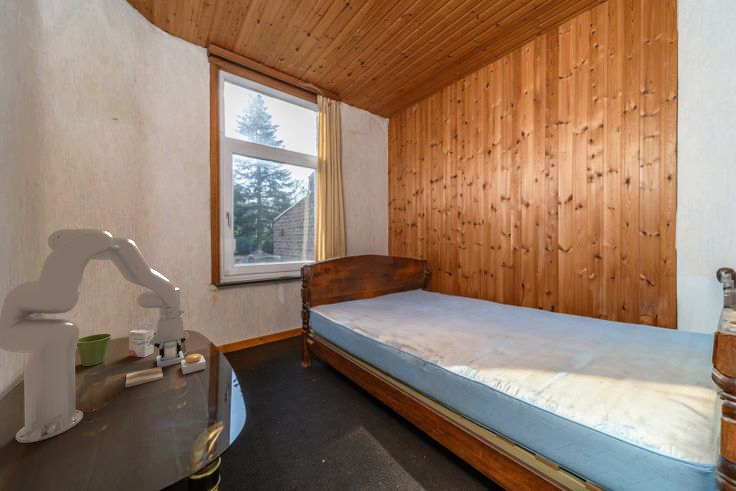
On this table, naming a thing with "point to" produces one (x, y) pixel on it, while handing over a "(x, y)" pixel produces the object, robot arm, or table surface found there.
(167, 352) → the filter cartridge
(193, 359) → the orange mushroom button
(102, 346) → the plant pot
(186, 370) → the white square base
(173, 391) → the table surface
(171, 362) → the filter socket
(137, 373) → the wooden pad
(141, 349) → the ink cartridge box
